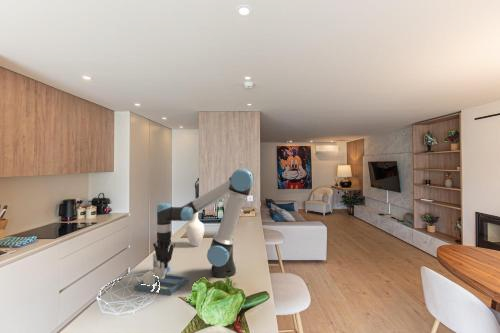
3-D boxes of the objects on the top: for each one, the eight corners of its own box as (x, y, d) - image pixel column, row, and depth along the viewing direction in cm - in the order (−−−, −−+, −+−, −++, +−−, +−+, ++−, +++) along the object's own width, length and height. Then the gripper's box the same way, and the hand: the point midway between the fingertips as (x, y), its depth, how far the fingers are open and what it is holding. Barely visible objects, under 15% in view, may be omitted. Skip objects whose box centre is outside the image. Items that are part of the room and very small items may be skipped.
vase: (207, 246, 200) (207, 212, 200) (190, 249, 192) (190, 213, 192) (200, 242, 212) (200, 209, 212) (183, 245, 204) (183, 211, 204)
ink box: (165, 268, 155) (165, 250, 155) (170, 270, 152) (169, 251, 152) (152, 273, 149) (152, 253, 149) (157, 275, 145) (157, 255, 146)
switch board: (187, 281, 138) (187, 276, 138) (171, 295, 122) (171, 289, 122) (154, 276, 144) (154, 272, 144) (134, 289, 128) (134, 284, 128)
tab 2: (165, 277, 139) (165, 265, 139) (160, 280, 135) (160, 268, 135) (159, 276, 140) (159, 264, 140) (154, 279, 136) (154, 267, 137)
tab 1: (154, 283, 132) (154, 270, 132) (149, 286, 128) (149, 273, 128) (148, 282, 133) (148, 270, 133) (143, 286, 129) (143, 273, 129)
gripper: (178, 230, 139) (178, 272, 139) (158, 228, 143) (158, 269, 142) (170, 233, 132) (170, 277, 132) (149, 232, 136) (149, 275, 135)
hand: (164, 273), depth 137 cm, fingers closed
